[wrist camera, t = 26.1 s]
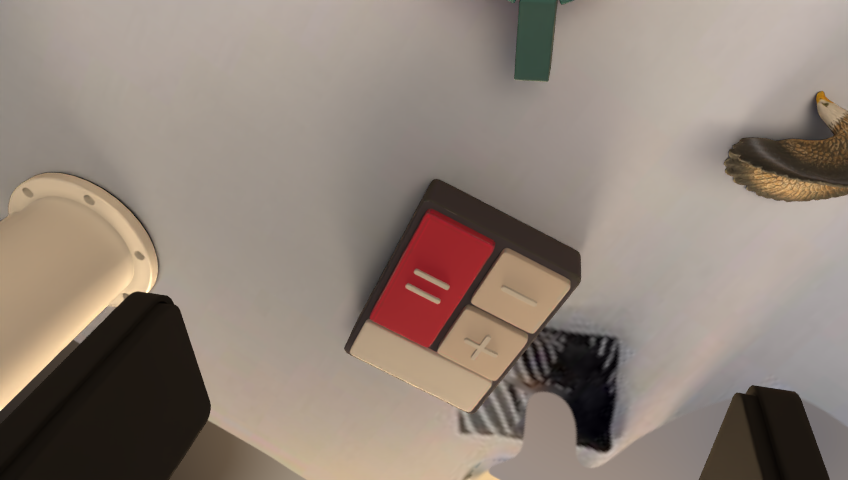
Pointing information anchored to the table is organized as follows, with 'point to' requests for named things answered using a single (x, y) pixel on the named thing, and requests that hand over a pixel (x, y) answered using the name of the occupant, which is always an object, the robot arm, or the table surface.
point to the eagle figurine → (796, 161)
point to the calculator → (462, 298)
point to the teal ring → (535, 39)
